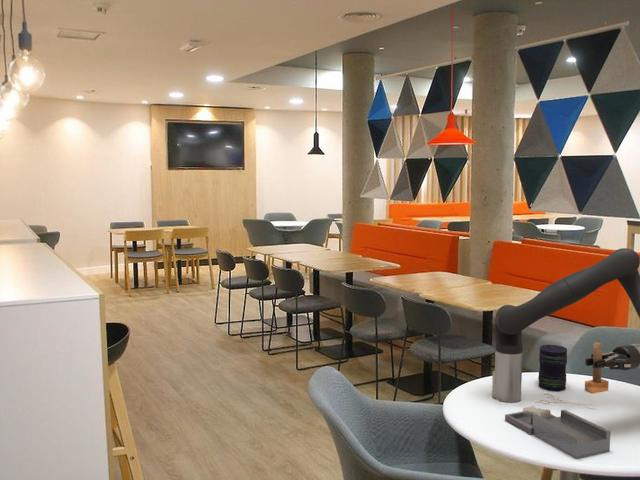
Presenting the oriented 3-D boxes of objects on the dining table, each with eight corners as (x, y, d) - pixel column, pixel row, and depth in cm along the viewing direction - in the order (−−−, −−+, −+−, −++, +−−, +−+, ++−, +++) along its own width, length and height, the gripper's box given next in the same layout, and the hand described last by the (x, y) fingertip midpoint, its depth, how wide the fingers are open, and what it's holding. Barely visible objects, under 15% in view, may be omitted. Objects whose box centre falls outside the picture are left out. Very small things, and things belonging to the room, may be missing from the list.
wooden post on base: (584, 390, 194) (586, 343, 193) (600, 387, 197) (602, 341, 195) (592, 393, 191) (593, 346, 190) (608, 390, 194) (609, 343, 192)
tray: (505, 420, 204) (505, 414, 204) (539, 414, 209) (539, 408, 209) (530, 434, 193) (530, 428, 193) (565, 427, 198) (565, 421, 198)
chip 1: (531, 424, 200) (522, 419, 204) (541, 422, 201) (532, 417, 205) (531, 412, 199) (523, 407, 203) (541, 410, 201) (533, 406, 205)
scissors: (539, 392, 229) (599, 401, 219) (539, 394, 229) (598, 403, 219) (533, 401, 220) (595, 411, 210) (533, 404, 220) (595, 414, 210)
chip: (533, 423, 199) (531, 410, 199) (543, 421, 200) (541, 408, 201) (542, 424, 195) (539, 411, 196) (552, 422, 197) (550, 409, 197)
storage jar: (571, 390, 231) (573, 351, 230) (547, 392, 229) (549, 352, 228) (556, 381, 241) (557, 343, 239) (532, 383, 239) (534, 345, 237)
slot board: (532, 434, 193) (532, 415, 193) (563, 427, 198) (564, 409, 197) (576, 458, 177) (577, 438, 176) (609, 451, 181) (610, 431, 181)
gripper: (614, 339, 204) (573, 346, 198) (651, 350, 192) (608, 357, 185) (613, 362, 205) (572, 369, 199) (650, 374, 192) (607, 382, 186)
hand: (590, 363), depth 192 cm, fingers closed on wooden post on base, 2 cm apart
